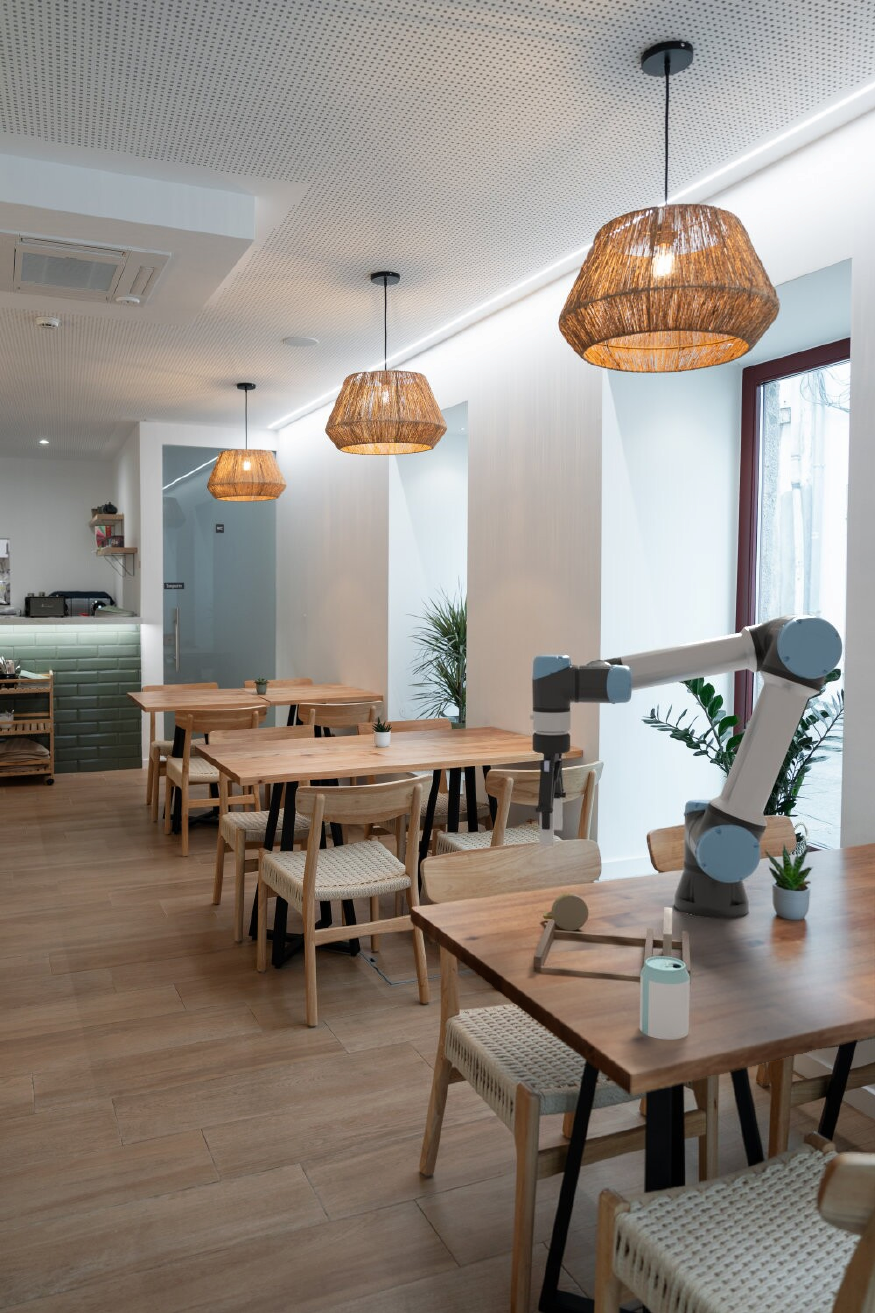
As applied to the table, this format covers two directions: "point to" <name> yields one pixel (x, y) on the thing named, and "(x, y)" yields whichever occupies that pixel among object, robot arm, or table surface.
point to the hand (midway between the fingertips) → (551, 837)
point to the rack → (606, 947)
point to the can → (664, 998)
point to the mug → (568, 912)
